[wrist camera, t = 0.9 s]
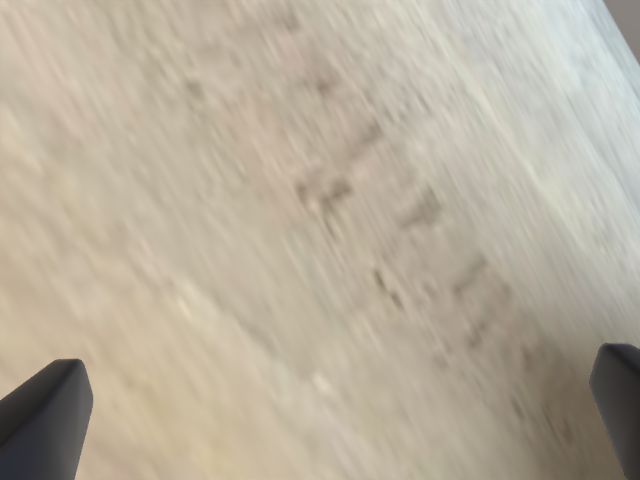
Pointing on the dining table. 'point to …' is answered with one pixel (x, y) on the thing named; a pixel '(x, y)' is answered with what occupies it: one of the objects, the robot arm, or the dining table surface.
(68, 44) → the dining table surface
